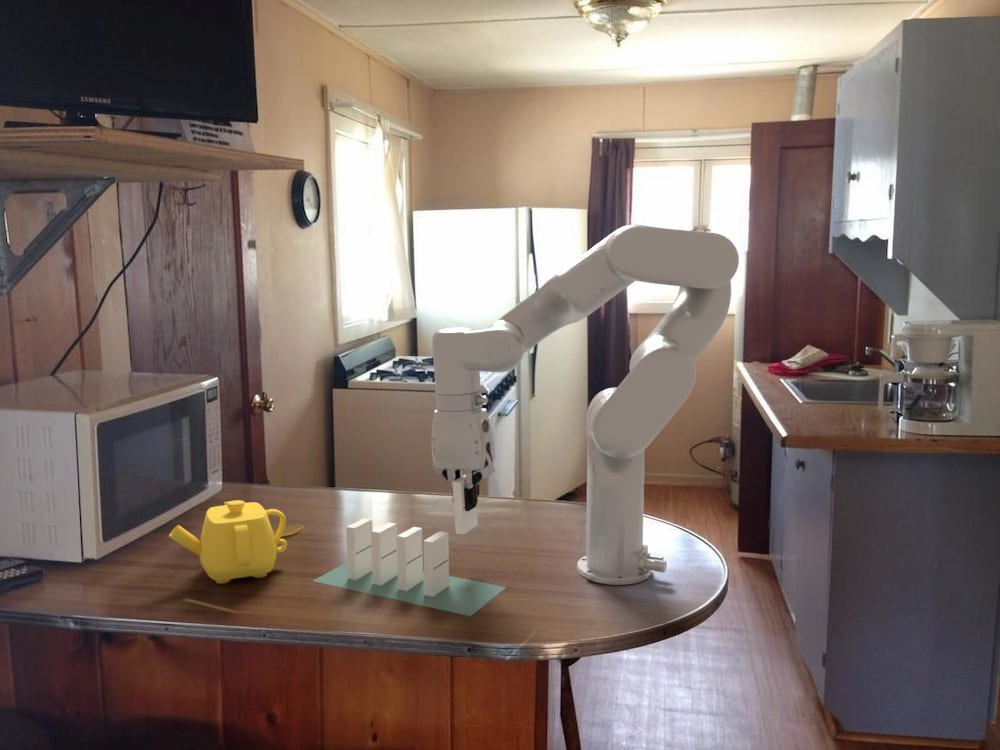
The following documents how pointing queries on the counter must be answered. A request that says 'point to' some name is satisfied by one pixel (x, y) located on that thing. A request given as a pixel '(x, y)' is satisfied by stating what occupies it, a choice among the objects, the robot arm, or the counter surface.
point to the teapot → (235, 541)
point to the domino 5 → (462, 508)
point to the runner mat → (419, 591)
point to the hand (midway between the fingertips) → (465, 507)
